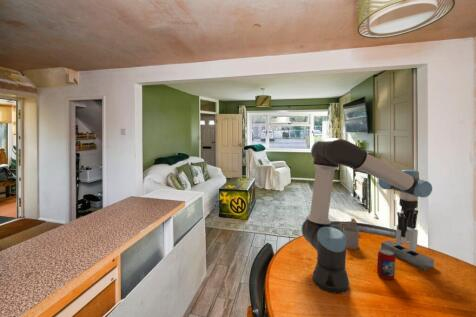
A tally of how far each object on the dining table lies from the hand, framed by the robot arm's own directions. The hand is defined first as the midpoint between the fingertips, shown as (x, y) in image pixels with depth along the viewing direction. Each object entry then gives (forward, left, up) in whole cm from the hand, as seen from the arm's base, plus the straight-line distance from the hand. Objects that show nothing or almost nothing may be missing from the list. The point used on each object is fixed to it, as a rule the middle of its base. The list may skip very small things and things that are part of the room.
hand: (406, 242), depth 116 cm
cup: (-16, +21, -9) cm, 28 cm away
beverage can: (-25, -7, -9) cm, 28 cm away
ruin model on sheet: (-3, +35, -9) cm, 36 cm away
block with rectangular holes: (0, 0, -9) cm, 9 cm away
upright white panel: (0, 0, -3) cm, 3 cm away
